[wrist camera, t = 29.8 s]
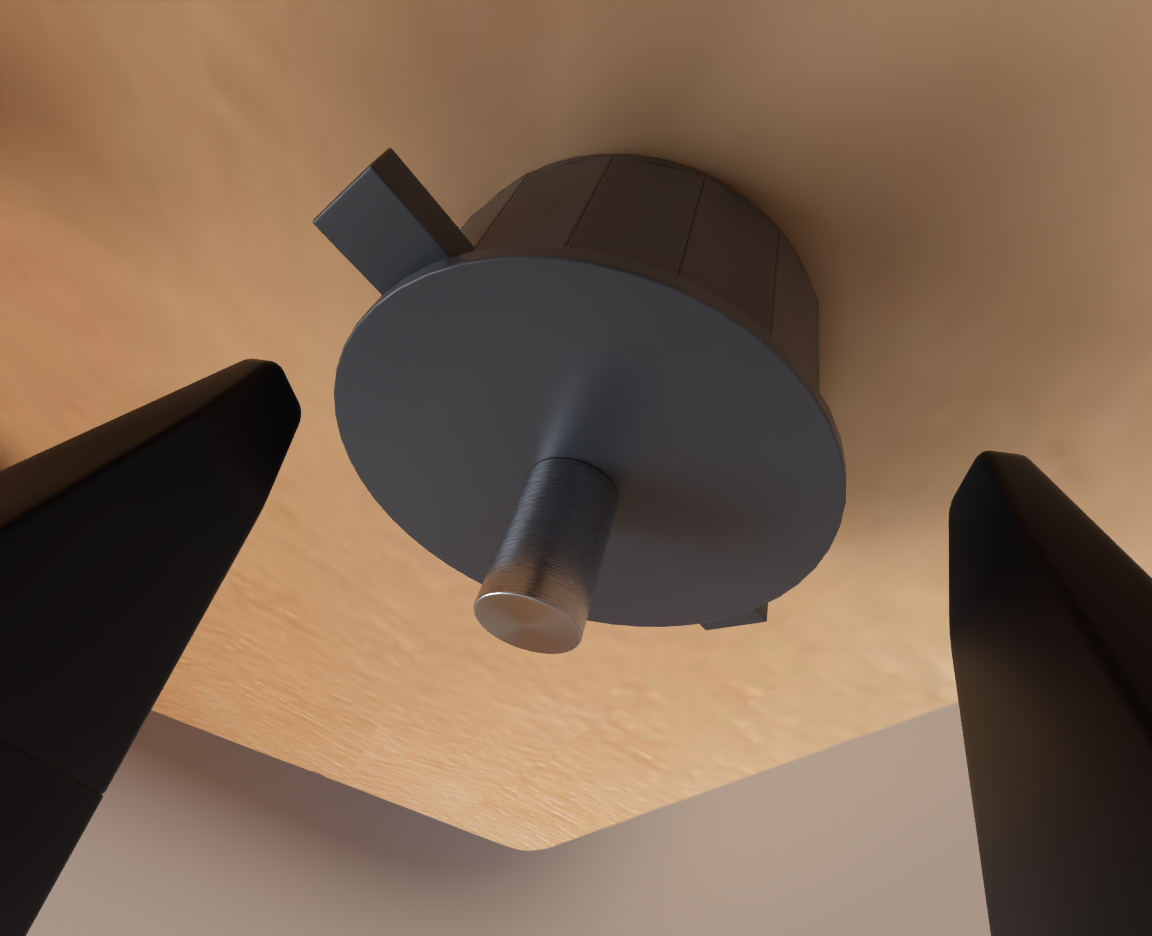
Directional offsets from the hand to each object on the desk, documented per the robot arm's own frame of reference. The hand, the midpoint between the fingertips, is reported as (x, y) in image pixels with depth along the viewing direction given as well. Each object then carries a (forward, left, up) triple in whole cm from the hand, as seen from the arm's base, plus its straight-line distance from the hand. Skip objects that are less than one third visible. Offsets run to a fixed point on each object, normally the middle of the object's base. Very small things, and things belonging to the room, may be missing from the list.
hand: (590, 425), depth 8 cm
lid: (+5, -6, -6) cm, 10 cm away
